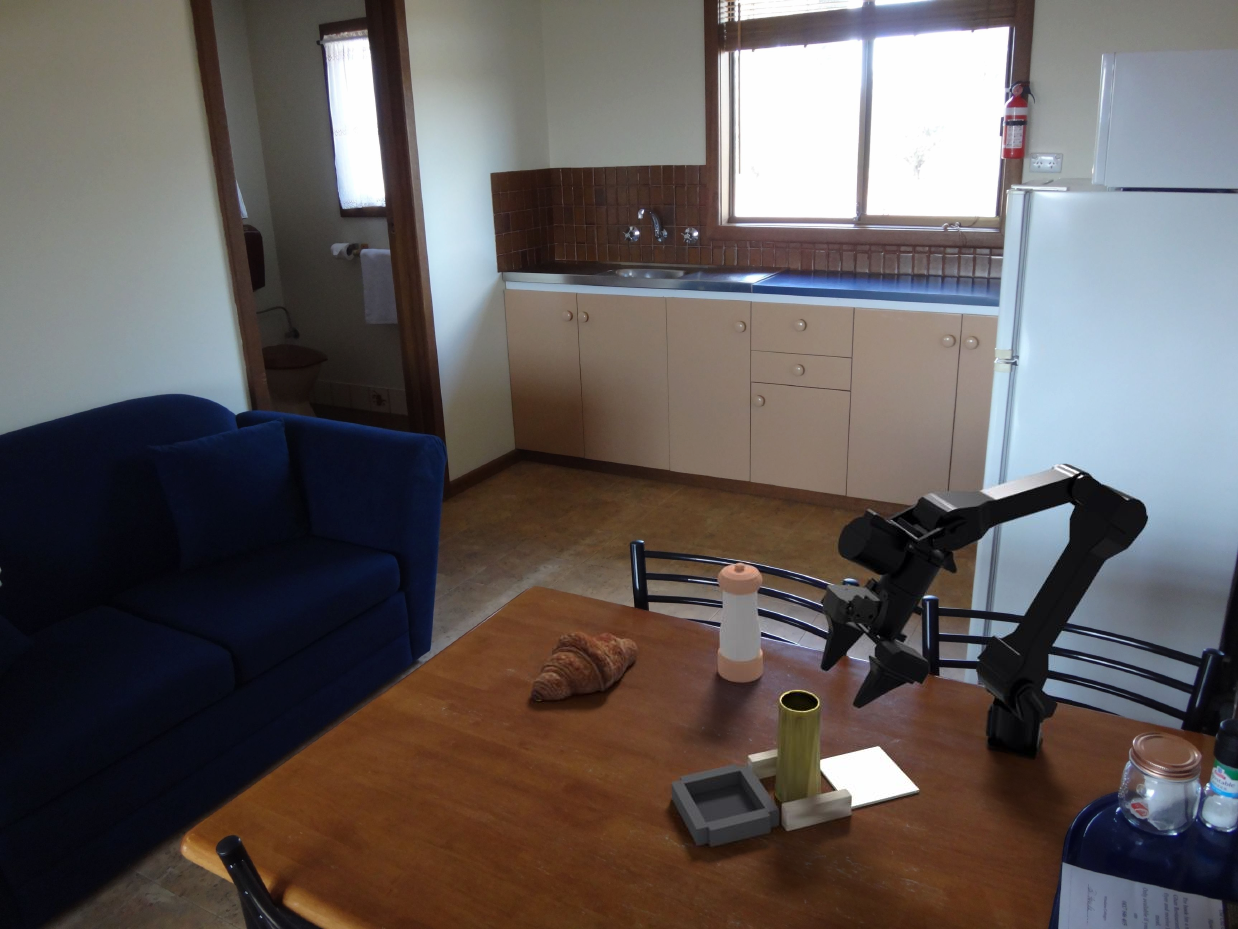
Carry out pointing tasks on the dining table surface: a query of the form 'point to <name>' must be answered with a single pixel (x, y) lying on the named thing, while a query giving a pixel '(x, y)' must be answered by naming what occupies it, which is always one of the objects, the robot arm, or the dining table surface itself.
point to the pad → (867, 776)
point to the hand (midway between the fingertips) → (839, 687)
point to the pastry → (583, 665)
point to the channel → (807, 808)
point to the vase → (798, 746)
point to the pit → (724, 805)
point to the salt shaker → (740, 624)
